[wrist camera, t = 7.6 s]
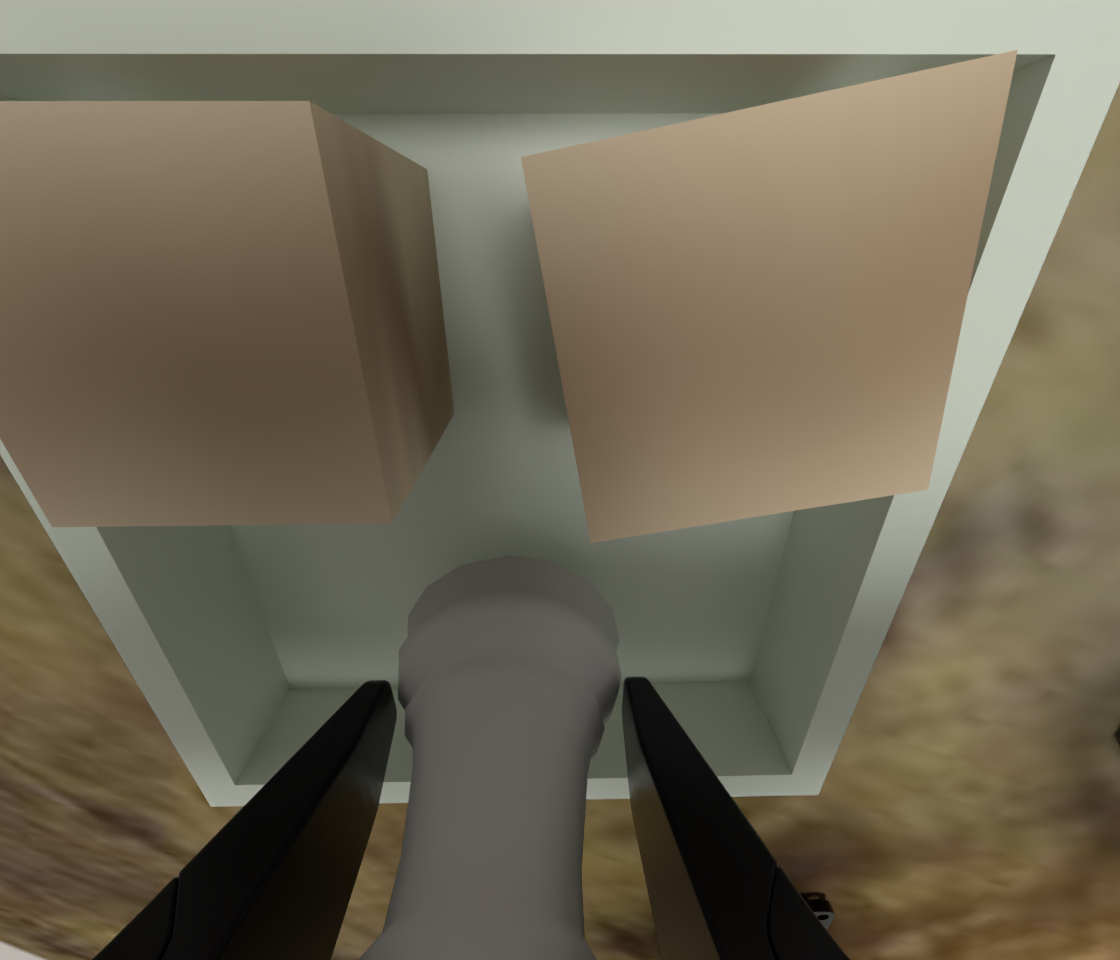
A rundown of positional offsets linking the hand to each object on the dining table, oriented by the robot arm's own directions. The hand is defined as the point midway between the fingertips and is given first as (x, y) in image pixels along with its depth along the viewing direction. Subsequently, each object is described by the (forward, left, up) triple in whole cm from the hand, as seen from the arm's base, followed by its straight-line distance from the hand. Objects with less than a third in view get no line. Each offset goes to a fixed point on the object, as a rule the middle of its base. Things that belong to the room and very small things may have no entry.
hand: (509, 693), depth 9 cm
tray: (+3, 0, -3) cm, 5 cm away
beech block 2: (+7, -3, -3) cm, 8 cm away
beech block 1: (+7, +3, -3) cm, 8 cm away
